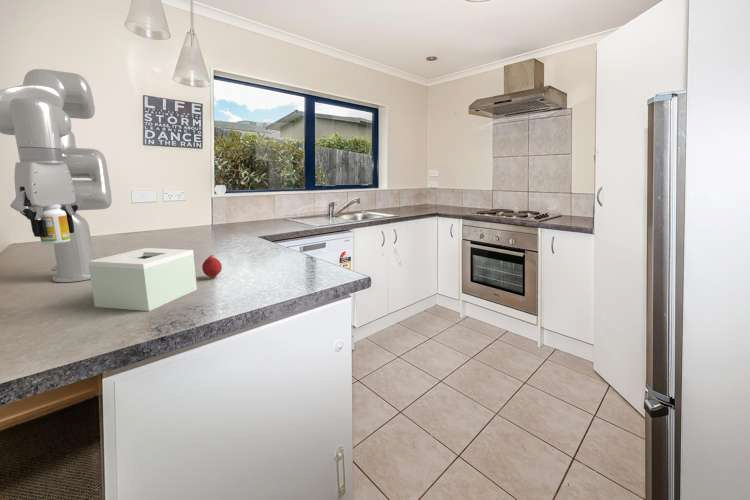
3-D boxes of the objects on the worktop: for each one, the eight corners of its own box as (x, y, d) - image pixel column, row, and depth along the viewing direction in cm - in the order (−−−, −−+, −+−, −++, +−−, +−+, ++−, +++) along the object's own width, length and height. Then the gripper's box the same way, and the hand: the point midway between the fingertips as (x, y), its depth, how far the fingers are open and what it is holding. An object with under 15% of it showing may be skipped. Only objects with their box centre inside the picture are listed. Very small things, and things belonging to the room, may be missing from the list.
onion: (215, 281, 116) (213, 256, 114) (199, 280, 117) (197, 256, 115) (226, 276, 121) (224, 253, 120) (210, 275, 123) (208, 252, 121)
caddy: (95, 306, 93) (87, 261, 90) (150, 286, 110) (145, 247, 108) (149, 311, 90) (143, 264, 87) (196, 289, 107) (193, 250, 105)
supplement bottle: (66, 239, 91) (60, 200, 89) (74, 241, 88) (67, 201, 86) (38, 242, 86) (31, 201, 84) (44, 245, 83) (37, 202, 81)
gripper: (66, 158, 92) (78, 229, 96) (-18, 154, 75) (0, 240, 79) (90, 158, 90) (101, 230, 94) (10, 154, 74) (26, 241, 78)
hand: (54, 233), depth 87 cm, fingers closed on supplement bottle, 5 cm apart
